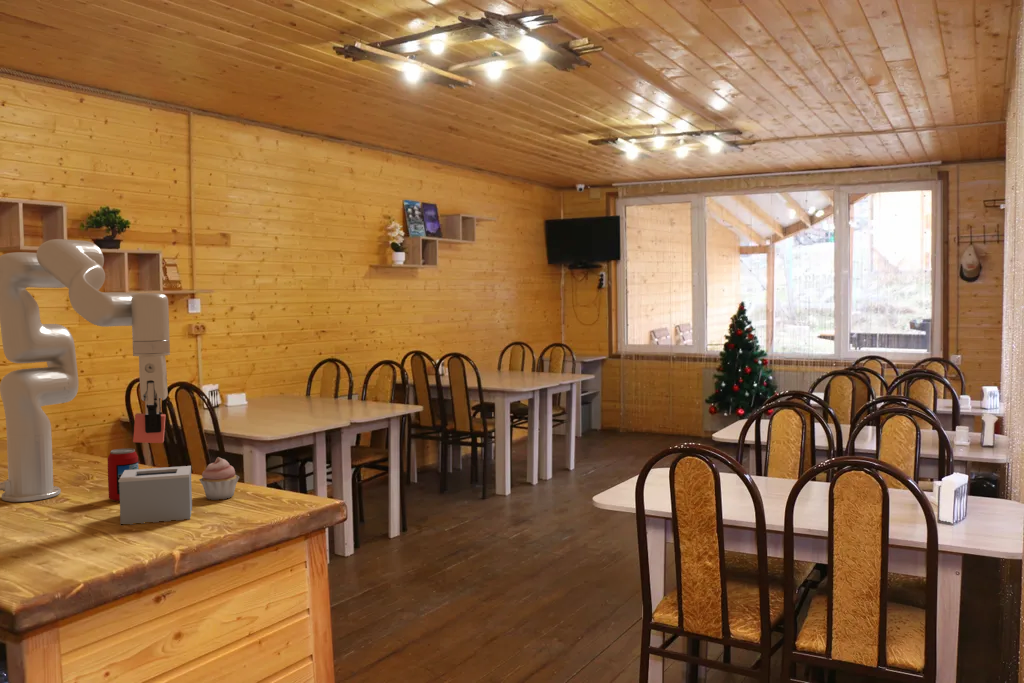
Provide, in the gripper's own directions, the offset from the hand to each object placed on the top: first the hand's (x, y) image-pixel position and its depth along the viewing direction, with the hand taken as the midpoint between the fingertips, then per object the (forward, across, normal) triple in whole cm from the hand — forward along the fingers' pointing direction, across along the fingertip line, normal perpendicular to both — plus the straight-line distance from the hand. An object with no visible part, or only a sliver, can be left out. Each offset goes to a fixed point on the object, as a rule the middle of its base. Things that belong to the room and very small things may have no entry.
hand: (154, 430), depth 182 cm
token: (+2, 0, +1) cm, 3 cm away
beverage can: (+20, +20, +9) cm, 29 cm away
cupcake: (+20, +14, -13) cm, 28 cm away
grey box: (+19, 0, 0) cm, 19 cm away
